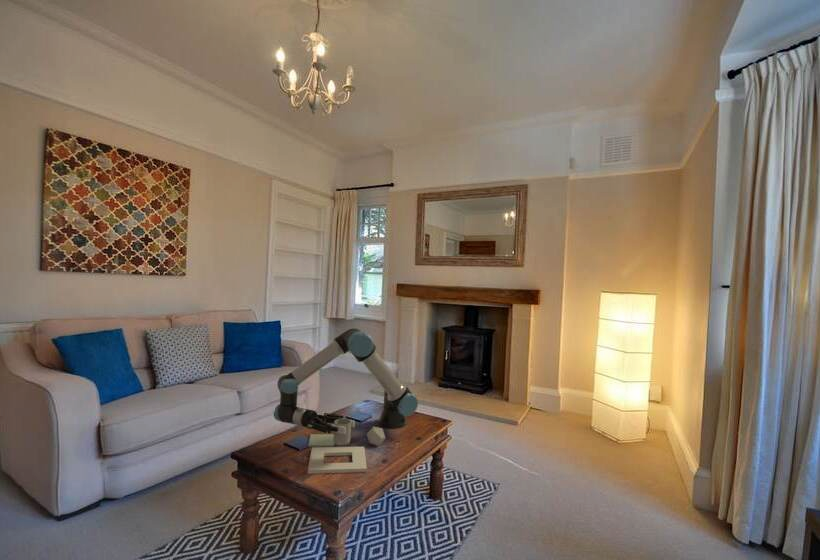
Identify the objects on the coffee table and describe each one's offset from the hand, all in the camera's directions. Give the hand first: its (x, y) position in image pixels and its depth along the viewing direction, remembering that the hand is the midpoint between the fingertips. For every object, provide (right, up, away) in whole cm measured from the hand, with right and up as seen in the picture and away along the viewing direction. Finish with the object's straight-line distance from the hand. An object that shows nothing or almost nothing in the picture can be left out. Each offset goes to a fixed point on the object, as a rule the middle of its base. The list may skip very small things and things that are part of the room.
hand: (349, 427), depth 159 cm
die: (+9, -17, +21) cm, 28 cm away
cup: (-5, -7, +2) cm, 9 cm away
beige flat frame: (-6, -15, +2) cm, 17 cm away
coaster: (-17, -15, +20) cm, 30 cm away
